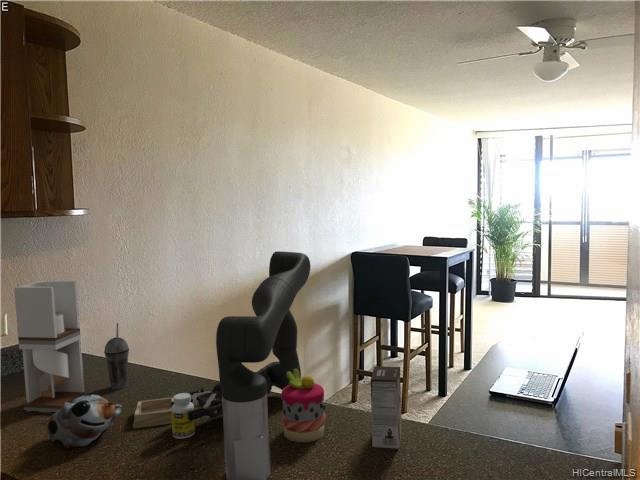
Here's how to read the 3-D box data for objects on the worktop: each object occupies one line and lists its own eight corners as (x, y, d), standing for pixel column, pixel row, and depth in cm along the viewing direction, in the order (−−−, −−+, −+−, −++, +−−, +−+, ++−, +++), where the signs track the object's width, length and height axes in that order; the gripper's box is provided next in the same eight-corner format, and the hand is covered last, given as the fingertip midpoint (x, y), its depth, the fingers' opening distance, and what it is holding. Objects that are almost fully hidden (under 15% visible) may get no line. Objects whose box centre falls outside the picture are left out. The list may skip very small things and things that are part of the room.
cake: (330, 425, 128) (328, 366, 127) (319, 445, 118) (317, 381, 117) (290, 421, 131) (288, 364, 130) (276, 440, 121) (273, 378, 120)
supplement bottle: (172, 441, 122) (170, 401, 121) (172, 431, 127) (170, 393, 127) (195, 437, 124) (193, 398, 123) (195, 428, 129) (192, 390, 128)
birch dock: (175, 422, 132) (174, 411, 132) (133, 428, 130) (132, 416, 130) (177, 406, 143) (176, 395, 143) (137, 410, 141) (137, 400, 140)
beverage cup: (101, 390, 157) (96, 326, 156) (117, 381, 164) (113, 320, 162) (121, 392, 155) (116, 327, 153) (136, 383, 162) (132, 321, 160)
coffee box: (375, 429, 125) (373, 365, 124) (401, 431, 124) (400, 366, 122) (371, 447, 116) (369, 378, 115) (400, 449, 115) (398, 379, 113)
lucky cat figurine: (108, 420, 135) (124, 378, 131) (111, 456, 125) (128, 412, 122) (45, 418, 127) (60, 373, 123) (43, 456, 118) (59, 409, 114)
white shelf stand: (24, 411, 143) (14, 287, 140) (50, 396, 153) (41, 281, 150) (60, 413, 141) (51, 287, 138) (84, 397, 151) (76, 280, 148)
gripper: (219, 372, 140) (164, 389, 129) (250, 385, 130) (193, 404, 119) (221, 399, 141) (166, 418, 130) (251, 413, 131) (195, 435, 120)
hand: (179, 411), depth 125 cm, fingers open, 8 cm apart
